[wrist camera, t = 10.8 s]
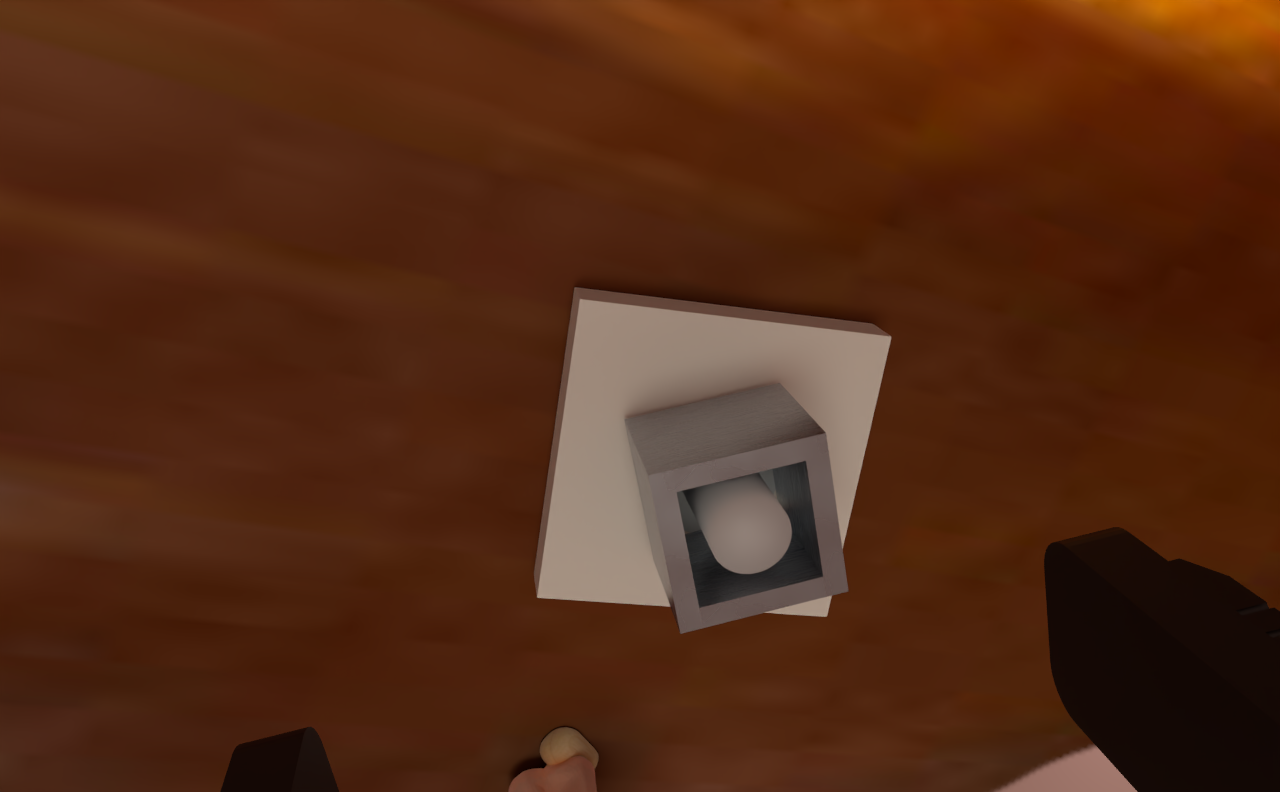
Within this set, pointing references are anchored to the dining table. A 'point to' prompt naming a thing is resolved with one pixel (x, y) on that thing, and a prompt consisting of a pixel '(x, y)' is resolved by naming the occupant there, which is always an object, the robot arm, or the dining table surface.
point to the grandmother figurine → (561, 765)
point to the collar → (724, 449)
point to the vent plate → (675, 376)
